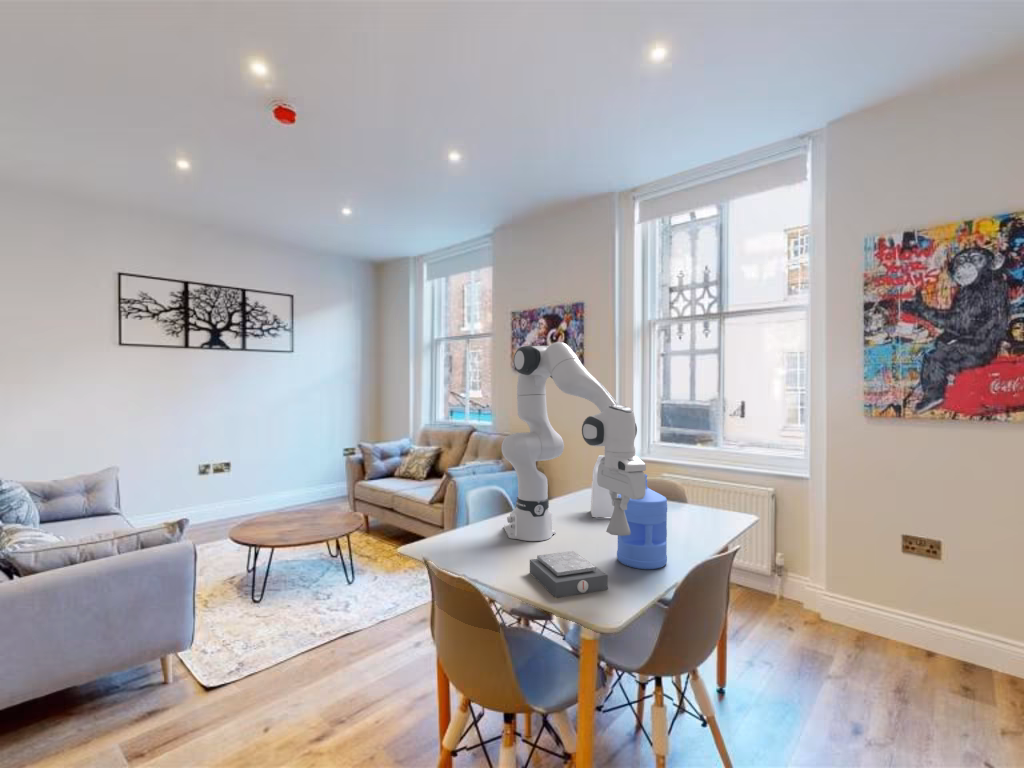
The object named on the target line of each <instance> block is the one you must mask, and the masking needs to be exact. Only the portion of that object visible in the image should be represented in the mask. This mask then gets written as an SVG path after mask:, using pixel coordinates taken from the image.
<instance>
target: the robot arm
mask: <svg viewBox="0 0 1024 768" xmlns="http://www.w3.org/2000/svg"><path fill="white" fill-rule="evenodd" d="M513 366H514V369H515V370H516V372H517V373H518V377H517V384H516V400H517V401H516V404H517V405H516V406H517V415H518V417H519V419H520V420H521V421H523V422H525V423H526V424H527V426H528V428H529V432H516V433H512V434H508V435H506V436H505V437H504V439H503V440H502V443H501V450H500V451H501V453H502V455H503V458H504V459H505V460H506V461H507V462H509V463H510V464H511V465H512V467H513V468H514V470H515V471H514V472H515V473H516V476H517V477H516V479H517V487H518V488H517V491H518V492H517V495H518V496H517V497H516V504H515V508H514V509H513V510H512V511H511V512H510V514H509V516H507V517H506V518H507V523H505V524H504V525H503V529H504V530H505V533H506V536H507V537H508V538H509V539H512V540H521V541H526V542H527V541H528V542H539V541H547V540H548V539H549V540H550V539H551V537H552V536H553V534H554V535H556V532H557V531H556V530H555V529H553V515H552V511H550V510H549V507H550V506H549V505H550V499H549V498H548V493H549V492H548V491H549V489H548V485H549V484H548V481H549V480H548V478H547V476H546V474H545V473H543V472H541V471H540V470H538V468H537V462H541V461H543V462H544V461H550V460H553V459H556V458H559V457H561V456H562V454H563V452H564V450H565V442H564V440H563V438H562V436H561V434H560V433H558V432H557V431H556V430H555V429H554V427H553V426H552V424H551V422H550V419H549V414H548V407H547V406H548V404H547V387H546V383H547V379H548V378H551V379H552V380H553V383H554V384H555V385H556V387H557V388H558V389H559V390H560V391H561V392H562V393H564V394H566V395H570V396H575V397H578V398H581V399H585V400H587V401H590V402H592V403H593V404H594V405H595V407H597V409H598V410H599V412H598V413H596V414H593V415H589V416H587V417H586V418H585V419H584V421H583V422H582V425H581V434H582V438H583V440H584V441H585V442H586V444H587V445H589V446H592V447H604V456H605V457H603V458H602V459H601V460H600V464H599V466H598V474H597V483H598V486H600V487H603V488H605V489H608V490H609V494H610V497H611V500H612V506H615V501H614V498H618V497H617V494H621V498H622V501H621V503H619V509H621V510H627V504H628V501H629V499H630V498H631V499H643V498H644V496H645V490H646V479H645V474H646V473H645V471H646V470H647V465H646V463H645V461H643V460H641V459H640V457H638V456H637V455H636V447H635V440H636V437H637V433H638V428H637V423H636V418H635V417H636V416H635V413H634V411H633V409H632V408H631V407H629V406H625V405H620V404H619V403H618V402H617V401H616V399H615V398H614V397H613V395H611V393H610V392H609V391H608V389H607V388H606V387H605V386H604V385H603V383H602V382H601V381H599V380H598V379H597V378H595V377H594V376H593V375H592V374H591V373H590V372H589V371H588V370H587V369H586V367H585V366H584V365H583V363H582V361H581V360H580V359H579V357H578V356H577V354H576V353H575V352H574V351H573V349H572V348H571V347H570V346H569V345H568V344H567V343H565V342H563V341H555V342H553V343H551V344H550V345H532V346H531V345H525V346H524V345H523V346H521V347H519V348H518V349H517V350H516V351H515V353H514V357H513Z"/></svg>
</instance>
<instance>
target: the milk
mask: <svg viewBox="0 0 1024 768" xmlns="http://www.w3.org/2000/svg"><path fill="white" fill-rule="evenodd" d="M603 457H605V454H604V455H598V456H597V459H596V462H595V464H594V466H593V468H592V478H591V479H592V480H591V497H590V514H591V518H592V517H612V514H613V511H614V506H612V500H611V497H610V494H609V490H608V489H605V488H603V487H600V486H598V483H597V474H598V466H599V464H600V460H601V459H602V458H603ZM618 495H619V494H617V497H618Z"/></svg>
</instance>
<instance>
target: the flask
mask: <svg viewBox="0 0 1024 768" xmlns="http://www.w3.org/2000/svg"><path fill="white" fill-rule="evenodd" d="M614 501H615V506H614V511H613V514H612V517H611V518H610V519H609V522H608V524H607V528H606V531H605V532H606V533H608V534H610V535H611V536H612V535H613V536H618V535H619V536H624V535H630V532H631V531H630V528H629V525H628V522H627V519H626V516H625V512H624V510H621V509H619V503H621V501H622V498H614Z"/></svg>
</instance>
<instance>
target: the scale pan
mask: <svg viewBox="0 0 1024 768" xmlns="http://www.w3.org/2000/svg"><path fill="white" fill-rule="evenodd" d="M536 559H538V560H539V561H540V562H542V563H543V564H544V565H545V566H546V567H548V568H549V569H550V570H551V571H552V572H553V573H555V574H556V575H557V576H562V575H569V574H575V573H582V572H589V571H596V567H597V566H596V565H594V564H593V563H591V562H590V561H588V560H587V559H585V558H584V557H583V558H582V556H581V555H580V556H579V554H578V553H577V552H575V551H573V550H570V551H561V552H555V553H554V552H553V553H546V554H539V555H538V554H537V556H536ZM592 564H593V565H592ZM595 566H596V567H595Z"/></svg>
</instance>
